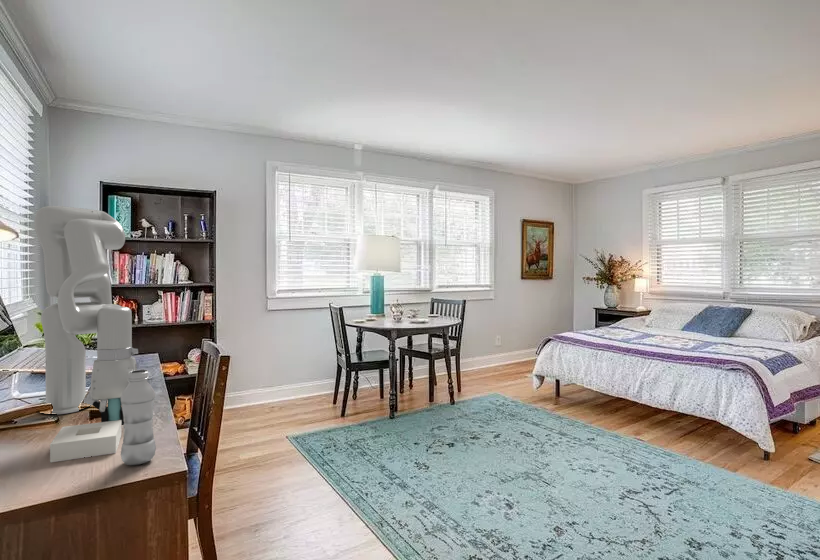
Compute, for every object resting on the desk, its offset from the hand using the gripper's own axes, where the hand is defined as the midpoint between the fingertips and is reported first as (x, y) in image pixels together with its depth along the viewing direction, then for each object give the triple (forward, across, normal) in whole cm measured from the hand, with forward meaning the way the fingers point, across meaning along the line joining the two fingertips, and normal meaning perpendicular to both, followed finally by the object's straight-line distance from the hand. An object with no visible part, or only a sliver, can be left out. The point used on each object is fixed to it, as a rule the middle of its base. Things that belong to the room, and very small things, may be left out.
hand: (114, 423), depth 117 cm
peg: (+2, 0, 0) cm, 2 cm away
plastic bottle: (+2, -7, +25) cm, 26 cm away
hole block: (+2, +4, +11) cm, 12 cm away
